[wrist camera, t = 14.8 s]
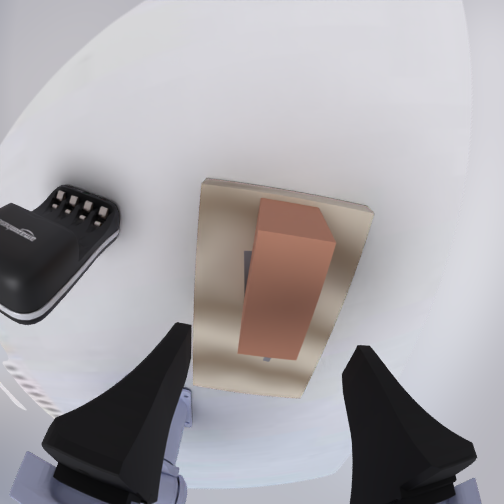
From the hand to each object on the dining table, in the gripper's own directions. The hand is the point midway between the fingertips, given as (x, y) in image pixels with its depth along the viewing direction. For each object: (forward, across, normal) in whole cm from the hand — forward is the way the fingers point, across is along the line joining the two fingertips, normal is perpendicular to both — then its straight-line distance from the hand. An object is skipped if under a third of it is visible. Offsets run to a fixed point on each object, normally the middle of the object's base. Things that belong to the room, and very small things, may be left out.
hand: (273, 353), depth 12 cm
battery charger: (+10, +15, -1) cm, 18 cm away
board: (+10, 0, +6) cm, 11 cm away
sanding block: (+8, 0, 0) cm, 8 cm away
